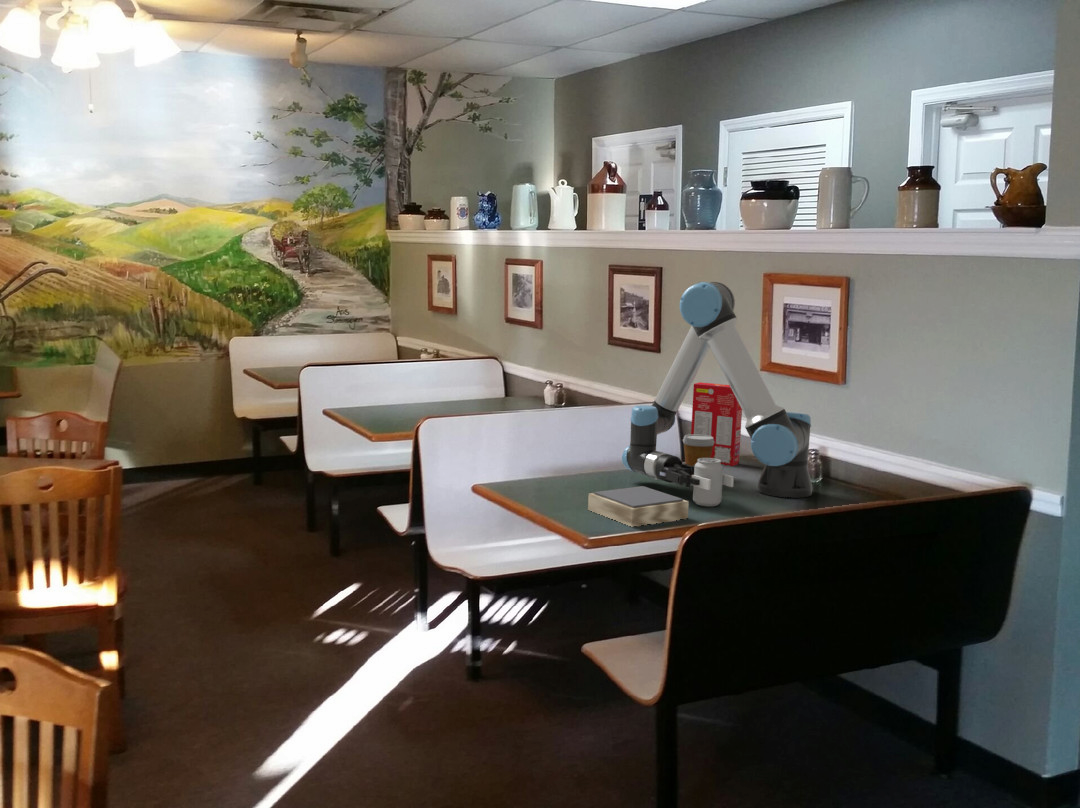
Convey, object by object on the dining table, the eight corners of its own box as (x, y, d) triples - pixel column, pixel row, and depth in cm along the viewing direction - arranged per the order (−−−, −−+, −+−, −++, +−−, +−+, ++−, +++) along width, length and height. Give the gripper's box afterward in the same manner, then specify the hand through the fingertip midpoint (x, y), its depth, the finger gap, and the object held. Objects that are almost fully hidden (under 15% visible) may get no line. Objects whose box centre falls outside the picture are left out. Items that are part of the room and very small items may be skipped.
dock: (642, 503, 279) (643, 484, 278) (687, 518, 264) (688, 499, 263) (587, 510, 269) (588, 491, 268) (631, 527, 254) (632, 507, 253)
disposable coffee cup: (713, 474, 319) (715, 435, 317) (711, 480, 310) (713, 440, 308) (682, 471, 321) (684, 433, 319) (679, 478, 312) (681, 438, 310)
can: (721, 508, 275) (723, 463, 273) (692, 505, 276) (694, 461, 274) (721, 501, 282) (723, 457, 280) (693, 499, 283) (695, 455, 281)
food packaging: (738, 463, 336) (743, 386, 333) (733, 466, 332) (738, 388, 328) (695, 457, 343) (699, 382, 339) (689, 460, 339) (693, 383, 335)
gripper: (691, 476, 299) (748, 493, 280) (635, 483, 288) (690, 501, 269) (692, 450, 298) (749, 465, 279) (636, 456, 287) (692, 472, 268)
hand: (720, 483), depth 274 cm, fingers closed on can, 7 cm apart
